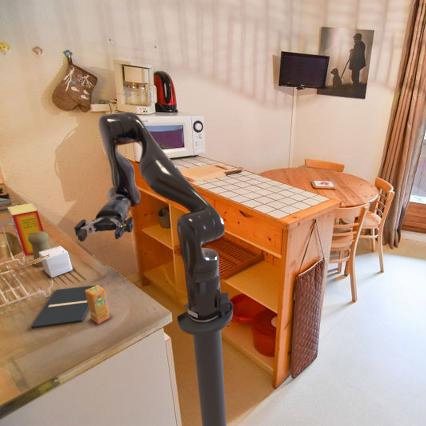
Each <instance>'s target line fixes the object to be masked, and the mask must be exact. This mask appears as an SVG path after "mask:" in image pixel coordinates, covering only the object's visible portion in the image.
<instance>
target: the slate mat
mask: <svg viewBox="0 0 426 426" xmlns="http://www.w3.org/2000/svg"><path fill="white" fill-rule="evenodd" d="M94 286H95V285H87V286H77V287H69V288H68V287H67V288H59V289H56V290H55V291H54V292H53V294H52V296H51V297H50V298H49V300H48V301H47V303H46V304H45V305H44V307H43V309H42V310H41V312H40V313H39V314H38V316H37V318H35V320H34V322H33V323H32V325H31V329H38V328H46V327H52V326H59V325H61V326H62V325H67V324H75V323H83V320H84V318H85V317H86V314H87V312H88V310H89V306H88V302H87V297H86V293H85V290H87V289H90V288H92V287H94Z"/></svg>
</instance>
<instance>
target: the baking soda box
mask: <svg viewBox="0 0 426 426" xmlns="http://www.w3.org/2000/svg"><path fill="white" fill-rule="evenodd" d="M6 208H7V211H8V214H9V218H10V220H11V223H12V226H13V229H14V233H15V235H16V238H17V241H18V244H19V247H20V249H21V251H22V253H23V254H24V256H25V257H27V256H30V255H31V256H32V255H33V248H32V244H31V243H30V242H29V241H28V237H29V235H30V234H32V233H35V232H40V231H41V232H45V231H44V228H43V225H42V220H41V218H40V215H39V210H38V209H37V208H36V207H35V205H34V204H33V203H32V202H30V203H29V202H28V203H22V204H16V205H10V206H7V207H6Z"/></svg>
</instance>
